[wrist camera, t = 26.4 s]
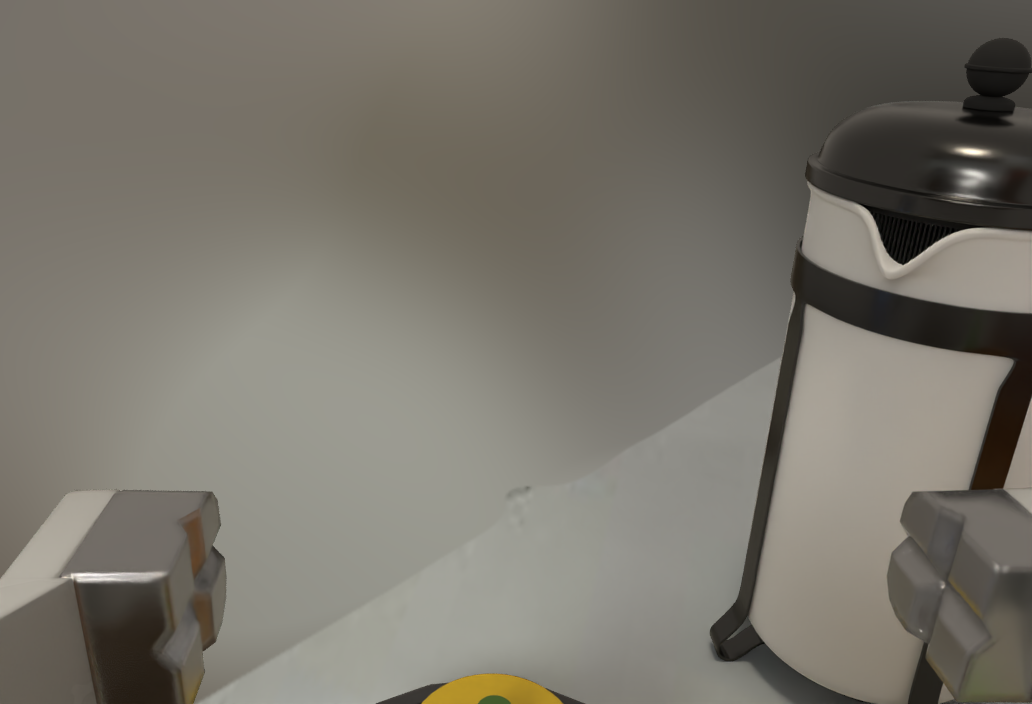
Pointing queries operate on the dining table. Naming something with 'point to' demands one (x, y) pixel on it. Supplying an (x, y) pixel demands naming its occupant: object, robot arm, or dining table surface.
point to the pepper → (491, 691)
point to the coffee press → (892, 374)
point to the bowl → (413, 699)
